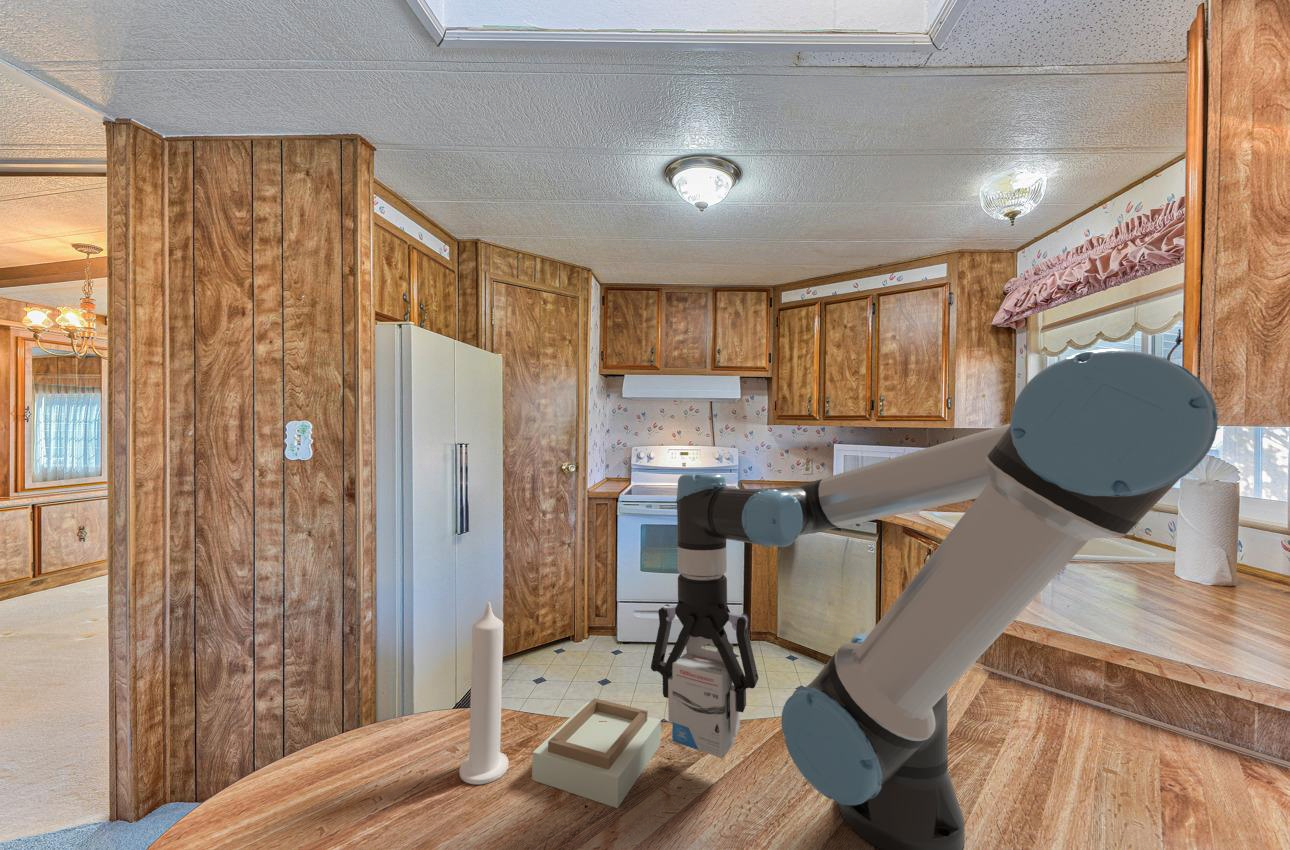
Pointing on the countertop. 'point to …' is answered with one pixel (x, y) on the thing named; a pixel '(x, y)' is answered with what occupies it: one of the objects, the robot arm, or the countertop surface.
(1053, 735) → the countertop surface
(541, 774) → the display stand
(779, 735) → the countertop surface
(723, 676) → the ink box
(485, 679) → the candle
